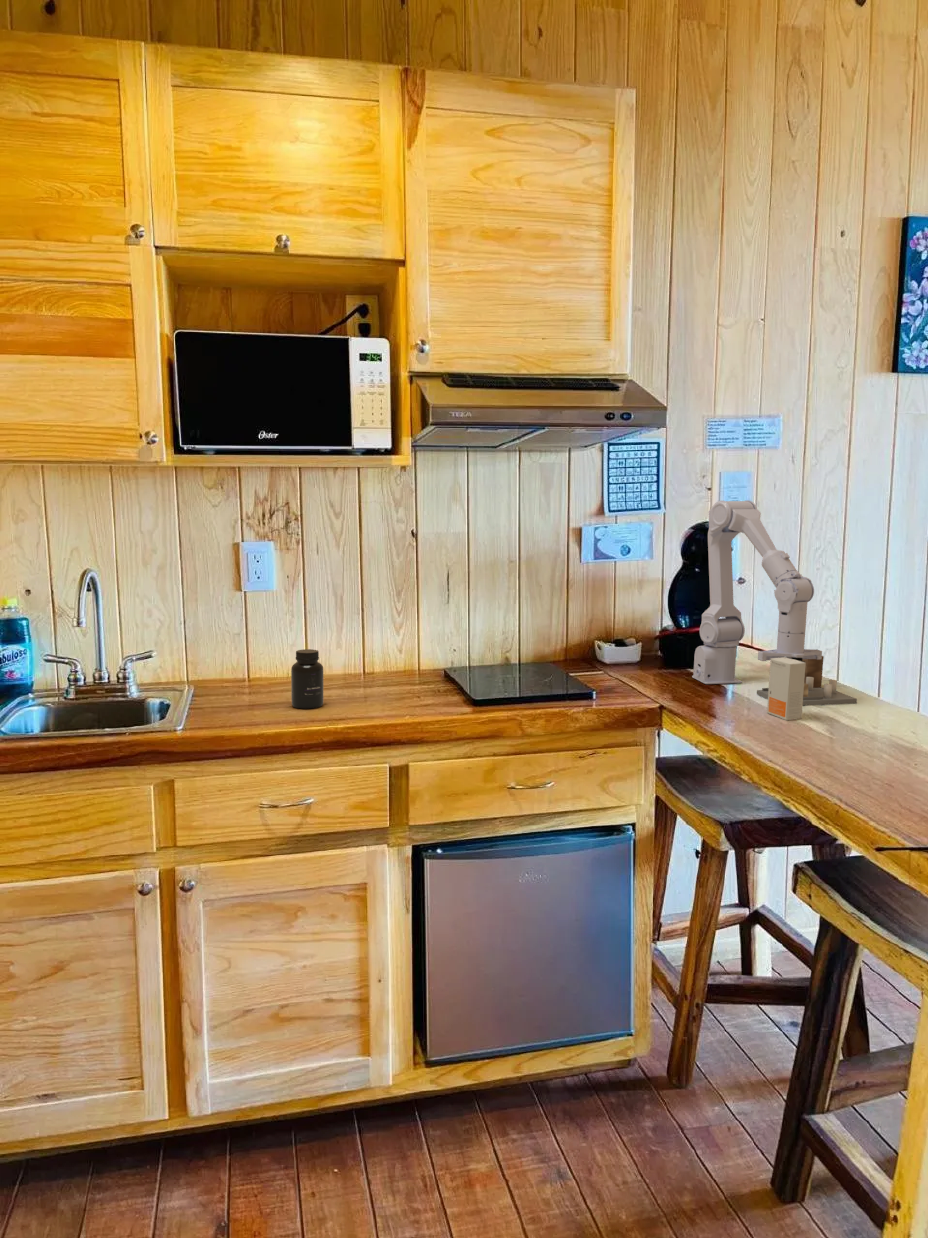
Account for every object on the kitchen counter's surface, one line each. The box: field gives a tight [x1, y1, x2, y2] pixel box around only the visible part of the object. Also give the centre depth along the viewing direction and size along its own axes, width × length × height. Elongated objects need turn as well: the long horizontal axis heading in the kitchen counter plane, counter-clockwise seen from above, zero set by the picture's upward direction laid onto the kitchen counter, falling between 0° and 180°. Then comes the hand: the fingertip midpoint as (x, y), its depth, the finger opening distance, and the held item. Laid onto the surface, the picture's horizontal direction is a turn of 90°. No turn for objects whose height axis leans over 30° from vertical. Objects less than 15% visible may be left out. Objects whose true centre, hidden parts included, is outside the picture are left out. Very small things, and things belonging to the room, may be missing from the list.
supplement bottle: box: [290, 648, 324, 710], centre depth 186 cm, size 7×7×12 cm
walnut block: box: [802, 655, 824, 688], centre depth 206 cm, size 4×4×8 cm
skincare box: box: [766, 657, 806, 721], centre depth 180 cm, size 6×4×12 cm
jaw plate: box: [803, 683, 809, 697], centre depth 195 cm, size 1×8×3 cm, turn 11°
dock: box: [756, 677, 858, 706], centre depth 196 cm, size 18×11×4 cm, turn 100°
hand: (787, 691), depth 195 cm, fingers closed
